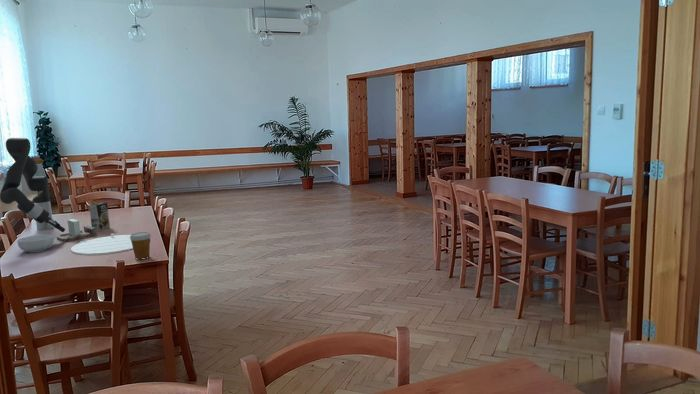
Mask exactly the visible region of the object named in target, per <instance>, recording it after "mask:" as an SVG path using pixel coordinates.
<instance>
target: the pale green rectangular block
mask: <svg viewBox="0 0 700 394" xmlns="http://www.w3.org/2000/svg"><path fill="white" fill-rule="evenodd" d="M66 222H67V229H68V233H69V234H70V235H73V236H74V235H79V234H81V233H80V231H81V227H80V220H78V219H74V218H70V219H67V221H66Z"/></svg>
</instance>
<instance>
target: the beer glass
mask: <svg viewBox="0 0 700 394" xmlns="http://www.w3.org/2000/svg"><path fill="white" fill-rule="evenodd" d="M129 235H130V240H131V242H132V246H133V249H132V250H133V253H134V258H135V259H136V258H137V259H142V258H147V257H149V258H150V249H151V248H150V243H151V234H150V232H148V231H141V232H135V233H131V234H129Z"/></svg>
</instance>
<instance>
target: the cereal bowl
mask: <svg viewBox="0 0 700 394" xmlns="http://www.w3.org/2000/svg"><path fill="white" fill-rule="evenodd" d="M16 242H17V246H18V248H19V249H20V250H22V251H24V252H28V253H39V252H41V253H42V252H45V251H46V250H47V249H49V248H50V247H51V246H53V244H54V242H55V237H54V235H53V234H35V235H31V236H25V237H21V238H19V239H17V241H16Z"/></svg>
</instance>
